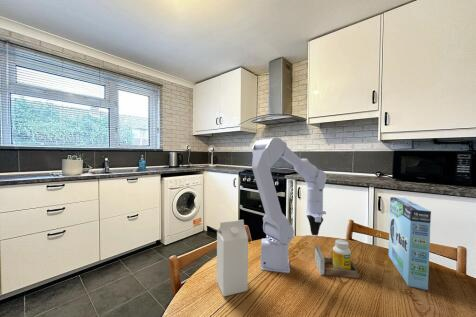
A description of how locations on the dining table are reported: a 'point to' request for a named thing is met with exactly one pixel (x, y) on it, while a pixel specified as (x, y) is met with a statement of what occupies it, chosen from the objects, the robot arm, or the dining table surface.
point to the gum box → (410, 241)
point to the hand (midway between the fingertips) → (314, 234)
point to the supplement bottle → (341, 255)
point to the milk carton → (232, 257)
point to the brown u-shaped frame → (341, 270)
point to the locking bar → (319, 260)
